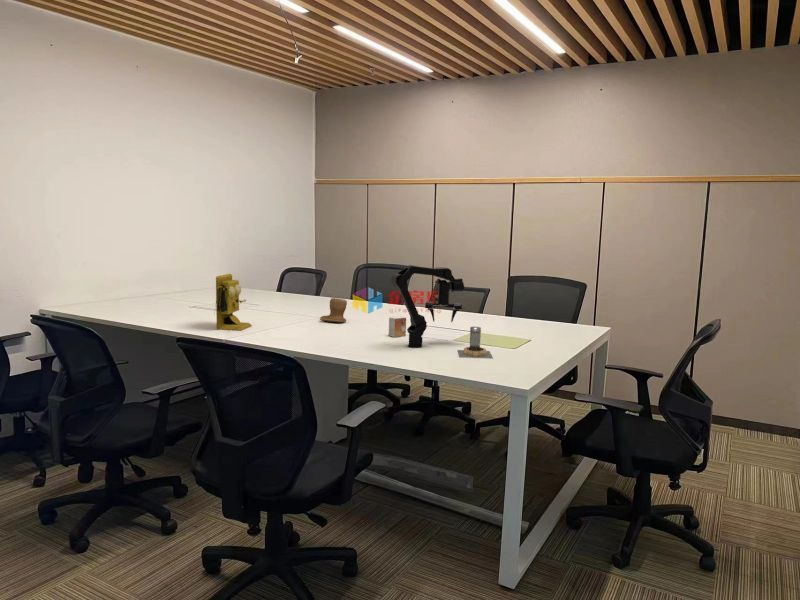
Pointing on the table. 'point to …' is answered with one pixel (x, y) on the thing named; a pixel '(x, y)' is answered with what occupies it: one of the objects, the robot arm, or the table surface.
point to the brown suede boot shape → (336, 311)
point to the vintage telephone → (228, 304)
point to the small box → (397, 326)
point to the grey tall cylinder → (475, 338)
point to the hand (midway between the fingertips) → (442, 321)
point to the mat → (461, 355)
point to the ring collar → (474, 352)
